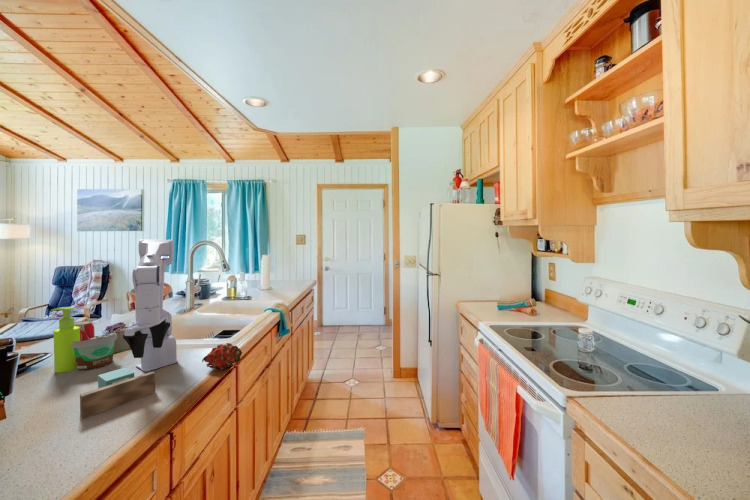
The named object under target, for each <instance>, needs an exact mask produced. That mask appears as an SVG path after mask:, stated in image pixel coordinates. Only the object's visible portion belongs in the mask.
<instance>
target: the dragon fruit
mask: <svg viewBox="0 0 750 500" xmlns="http://www.w3.org/2000/svg"><path fill="white" fill-rule="evenodd" d="M242 353H243V352H242V349H241V348H239V347H238V346H237V345H233V344H232V343H229V342H227V343H226V344H218V345H216V346H215V347H213V348H212V349H211V351H210V352H209V353H207V354H206V355H205V356H204V357H203V358H202V360H201V361H202V362H201V363H203V362H205V363H207V364H206V367H207V368H210V369H213V368H216V369H220V371H223V370H224V369H226V368H231V367H233V364H237V363H238V362H240V360H241V357H242Z"/></svg>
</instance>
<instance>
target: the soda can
mask: <svg viewBox="0 0 750 500" xmlns="http://www.w3.org/2000/svg"><path fill="white" fill-rule="evenodd" d="M74 326H78V327H80V341H84V340H87V339H89V338H92V337H95V335H96V334H95V325H94V324H93V323H92V320H80V321H79V320H78V321H74Z"/></svg>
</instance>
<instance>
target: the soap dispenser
mask: <svg viewBox="0 0 750 500" xmlns="http://www.w3.org/2000/svg"><path fill="white" fill-rule="evenodd" d="M72 310H75V308H74V307H73V306H71V307H70V306H62V307H55V308H52V309H50V311H51V312H53V311H62V317H60V318H59V319H58V328H56V329H54V330H53V355H54V356H53V357H54V359H53V361H54V363H53V364H54V366H53V367H54V373H57V374H58V373H60V374H61V373H67V372H72V371H75V370H77V366H76V359H75V353H74V348H71V346H72V343H73V341H80V327H78V326H74V322H75V317H74V316H72V315H71V311H72Z"/></svg>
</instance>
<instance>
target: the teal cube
mask: <svg viewBox="0 0 750 500" xmlns="http://www.w3.org/2000/svg"><path fill="white" fill-rule="evenodd" d="M133 377H135V372H134V371H132V370H130V369H129V368H127V367H122V368H118V369H115V370H111V371H108V372H104V373H101V374H98V375H97V384H98V385H97V387H98V388H97V389H99V388H102V387H105V386H108V385H111V384H115V383H118V382H121V381H124V380H127V379H130V378H133Z"/></svg>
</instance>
